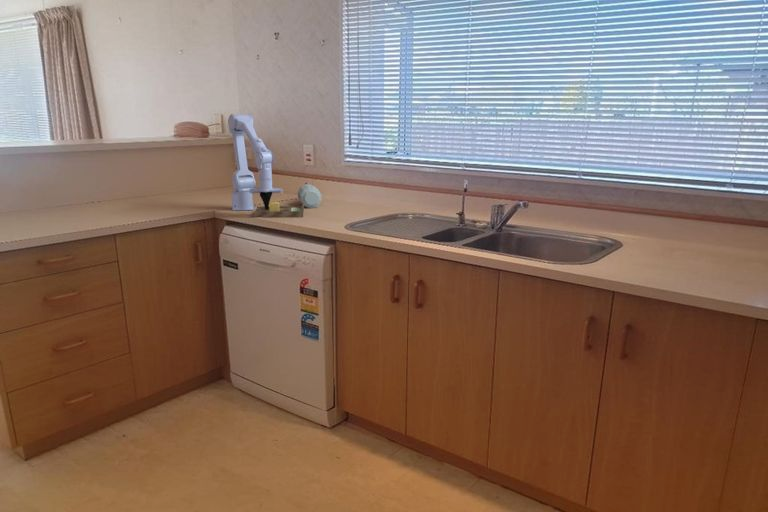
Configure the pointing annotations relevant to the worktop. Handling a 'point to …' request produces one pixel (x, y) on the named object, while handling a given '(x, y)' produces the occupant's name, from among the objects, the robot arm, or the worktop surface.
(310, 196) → the device
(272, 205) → the block
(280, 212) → the tray
